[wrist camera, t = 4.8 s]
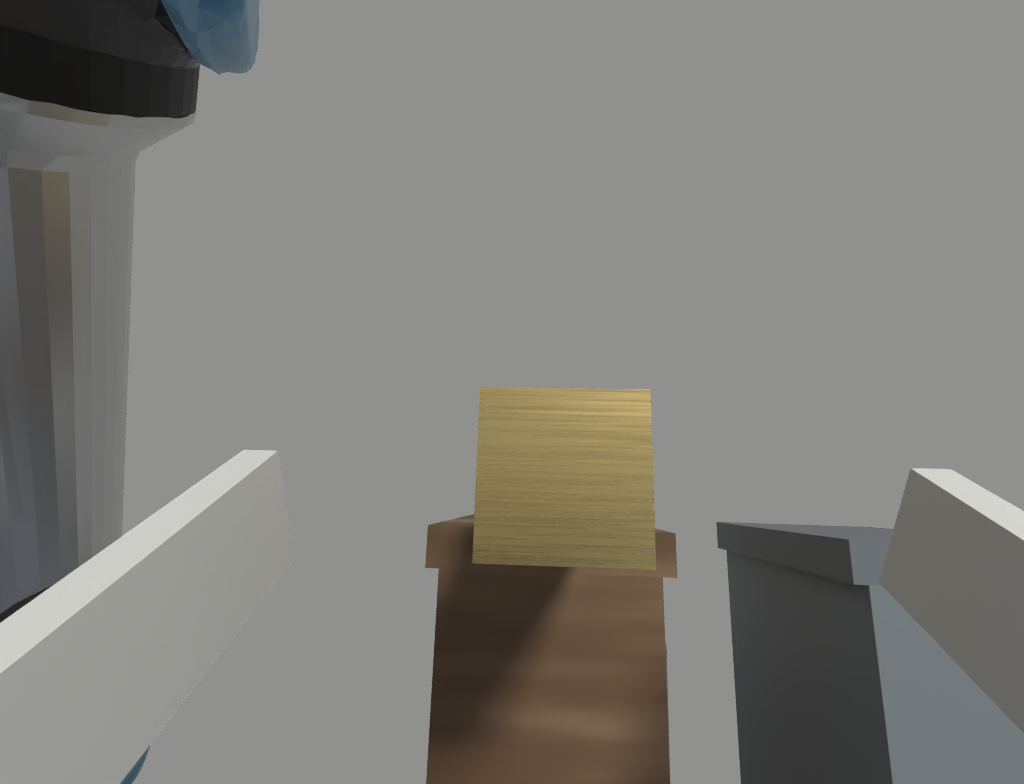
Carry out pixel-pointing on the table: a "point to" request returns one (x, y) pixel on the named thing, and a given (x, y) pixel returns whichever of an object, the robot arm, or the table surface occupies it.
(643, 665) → the block
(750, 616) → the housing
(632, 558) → the pin
